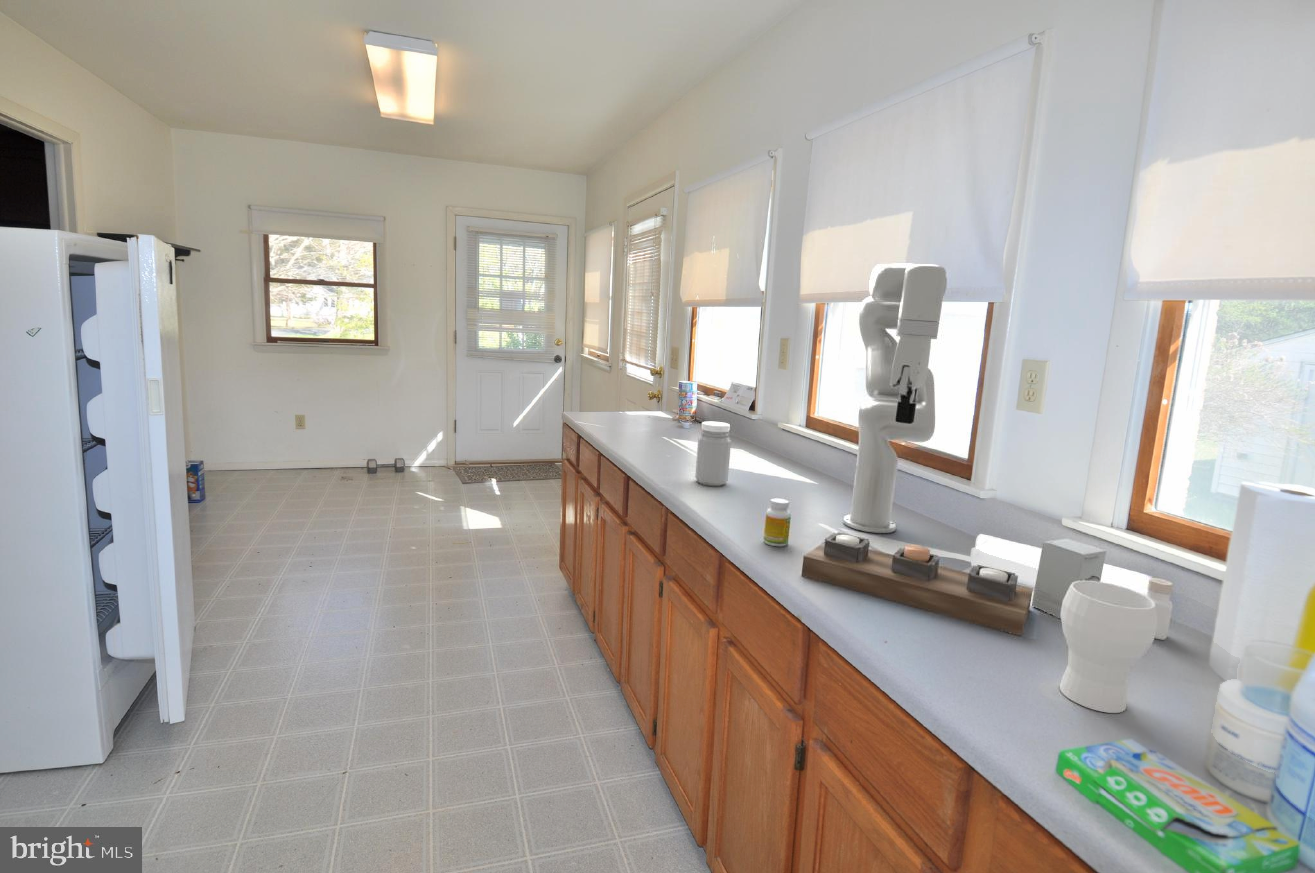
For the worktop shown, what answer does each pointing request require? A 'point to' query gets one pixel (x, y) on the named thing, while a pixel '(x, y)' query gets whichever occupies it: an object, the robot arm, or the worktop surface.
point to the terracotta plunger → (917, 553)
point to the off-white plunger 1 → (847, 539)
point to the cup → (1104, 642)
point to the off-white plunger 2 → (993, 574)
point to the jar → (713, 454)
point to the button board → (921, 583)
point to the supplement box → (1064, 571)
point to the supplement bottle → (777, 523)
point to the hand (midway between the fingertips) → (904, 422)
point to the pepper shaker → (1161, 604)
